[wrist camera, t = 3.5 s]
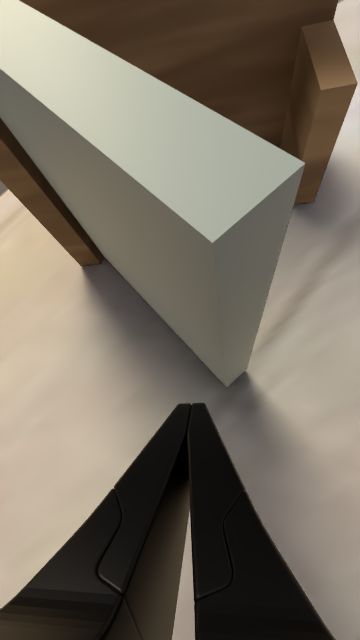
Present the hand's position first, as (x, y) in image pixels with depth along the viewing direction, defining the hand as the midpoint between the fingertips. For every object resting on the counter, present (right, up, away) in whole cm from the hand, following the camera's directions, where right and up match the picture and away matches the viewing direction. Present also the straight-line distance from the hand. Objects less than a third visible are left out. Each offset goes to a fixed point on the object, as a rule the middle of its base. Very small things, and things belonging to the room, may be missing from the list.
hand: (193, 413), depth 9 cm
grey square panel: (-1, +4, +9) cm, 10 cm away
